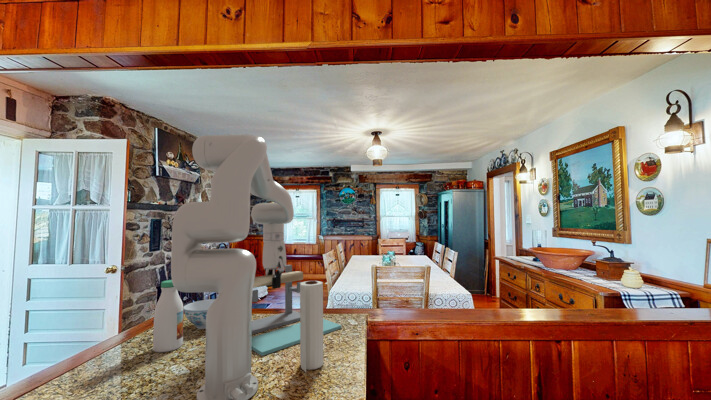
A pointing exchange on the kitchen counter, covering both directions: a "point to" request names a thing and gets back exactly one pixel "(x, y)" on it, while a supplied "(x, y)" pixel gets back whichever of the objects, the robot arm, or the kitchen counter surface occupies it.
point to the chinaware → (198, 312)
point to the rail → (285, 278)
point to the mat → (284, 338)
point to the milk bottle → (168, 319)
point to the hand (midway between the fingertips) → (273, 286)
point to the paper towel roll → (311, 325)
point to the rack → (278, 319)
